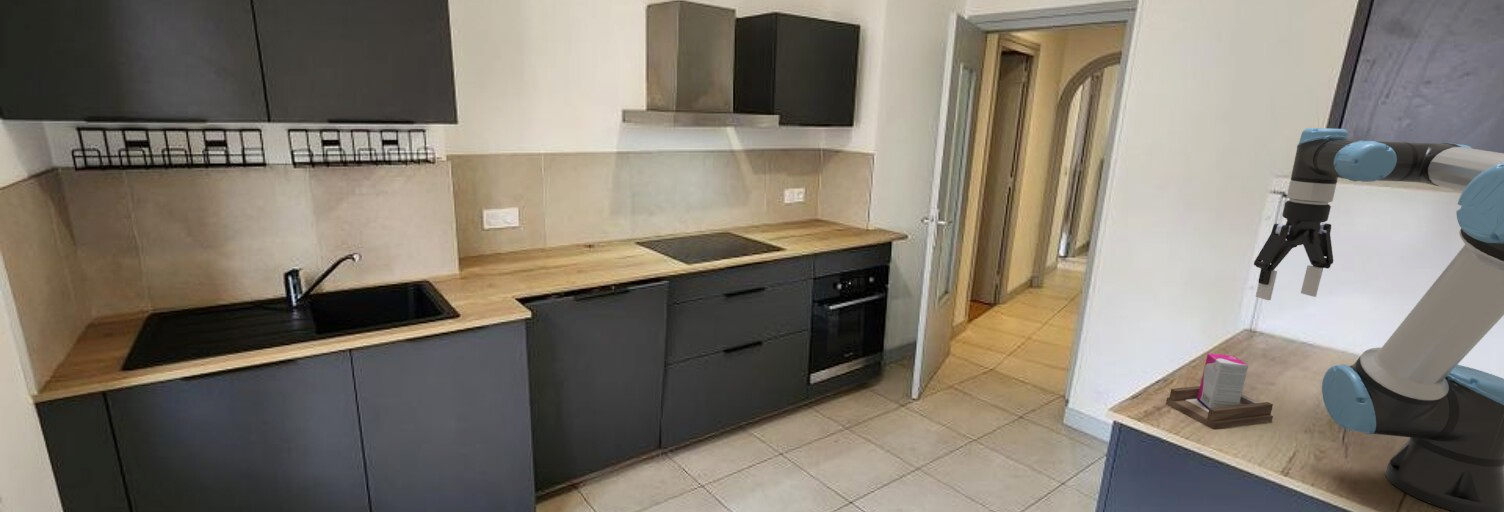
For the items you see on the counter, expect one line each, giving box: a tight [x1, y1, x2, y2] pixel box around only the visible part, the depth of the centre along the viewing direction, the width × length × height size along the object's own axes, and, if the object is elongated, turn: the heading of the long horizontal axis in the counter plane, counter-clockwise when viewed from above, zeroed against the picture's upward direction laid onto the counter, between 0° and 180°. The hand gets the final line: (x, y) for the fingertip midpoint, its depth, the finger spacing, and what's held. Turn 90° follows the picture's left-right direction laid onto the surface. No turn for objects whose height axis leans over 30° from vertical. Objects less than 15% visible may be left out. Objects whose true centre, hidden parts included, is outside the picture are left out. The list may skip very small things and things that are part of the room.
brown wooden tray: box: [1165, 385, 1274, 430], centre depth 144 cm, size 12×16×4 cm
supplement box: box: [1197, 352, 1249, 410], centre depth 142 cm, size 6×6×12 cm
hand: (1285, 296), depth 142 cm, fingers open, 13 cm apart
